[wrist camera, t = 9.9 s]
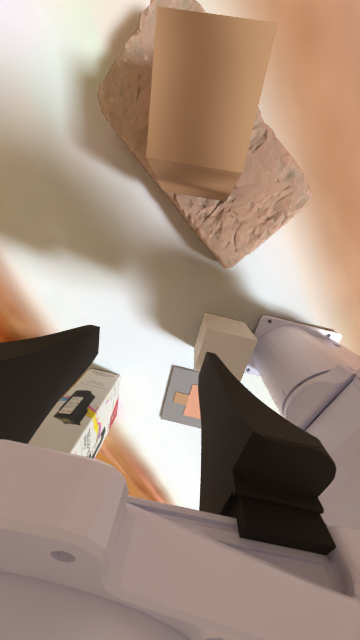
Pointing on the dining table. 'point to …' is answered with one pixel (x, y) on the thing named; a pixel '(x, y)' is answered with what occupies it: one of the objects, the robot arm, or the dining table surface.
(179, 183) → the walnut block
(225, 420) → the robot arm
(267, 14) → the dining table surface
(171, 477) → the dining table surface
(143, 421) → the dining table surface
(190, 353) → the dining table surface
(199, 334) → the cream cube
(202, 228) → the brick
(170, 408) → the card
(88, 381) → the ink box
